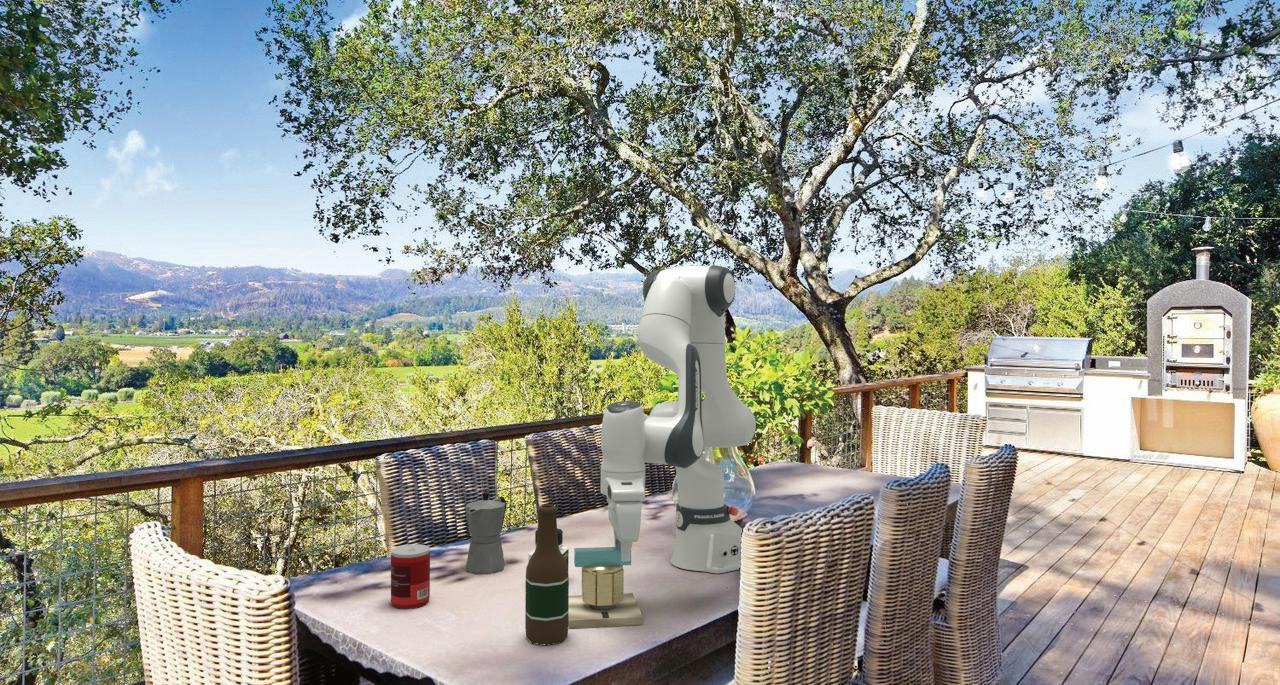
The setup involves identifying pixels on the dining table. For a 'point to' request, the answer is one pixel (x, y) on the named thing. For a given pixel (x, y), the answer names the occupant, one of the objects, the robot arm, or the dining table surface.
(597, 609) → the square recessed plate
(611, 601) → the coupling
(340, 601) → the dining table surface
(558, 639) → the beer bottle
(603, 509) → the dining table surface
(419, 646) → the dining table surface
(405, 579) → the canned food
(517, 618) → the dining table surface
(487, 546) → the coffeepot
